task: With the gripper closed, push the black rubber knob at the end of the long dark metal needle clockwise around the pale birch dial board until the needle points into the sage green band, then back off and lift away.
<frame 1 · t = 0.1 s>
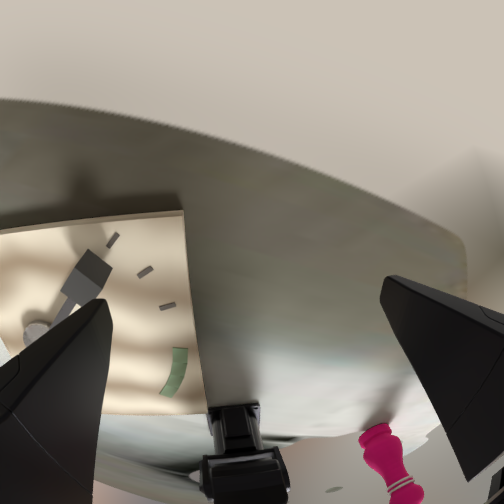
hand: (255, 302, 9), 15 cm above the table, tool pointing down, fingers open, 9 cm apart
pepper mill: (372, 432, 44), on the table
dial needle: (57, 324, 20), point 4 cm above the table, hinge at 0.0°
dial board: (52, 330, 24), on the table
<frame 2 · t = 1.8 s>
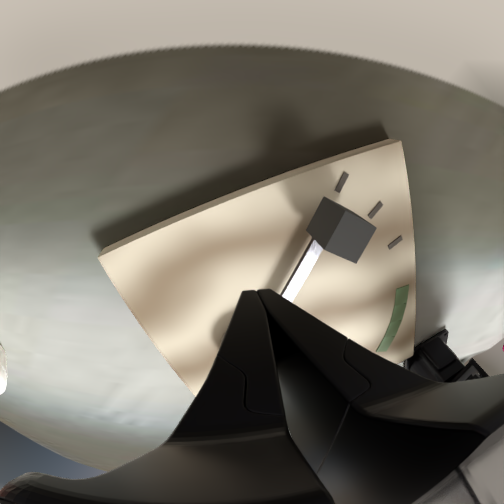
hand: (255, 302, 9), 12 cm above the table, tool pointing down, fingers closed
dial needle: (289, 308, 19), point 4 cm above the table, hinge at 0.0°
dial board: (249, 329, 24), on the table
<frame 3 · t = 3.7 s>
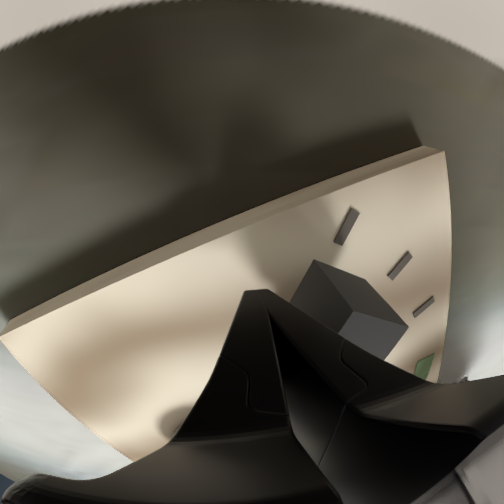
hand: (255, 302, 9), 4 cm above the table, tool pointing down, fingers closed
dial needle: (257, 421, 11), point 4 cm above the table, hinge at -0.2°, touching gripper
dial board: (212, 416, 16), on the table
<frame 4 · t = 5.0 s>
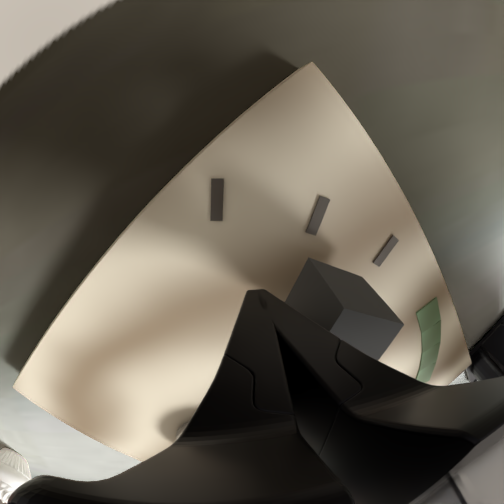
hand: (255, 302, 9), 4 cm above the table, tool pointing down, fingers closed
dial needle: (257, 420, 12), point 4 cm above the table, hinge at -19.7°, touching gripper
dial board: (216, 415, 16), on the table
white rounded lump: (15, 453, 18), on the table
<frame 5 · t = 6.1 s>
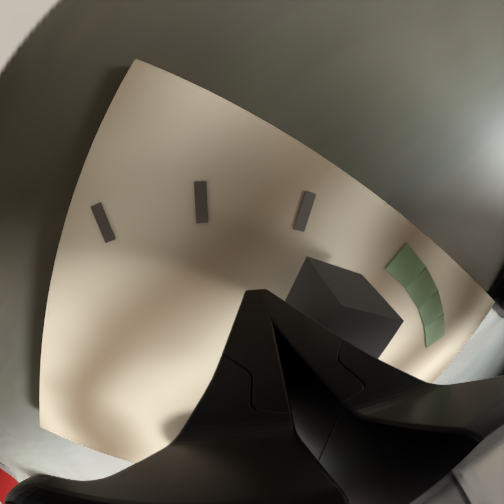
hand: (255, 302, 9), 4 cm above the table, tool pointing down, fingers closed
dial needle: (261, 420, 12), point 4 cm above the table, hinge at -36.5°, touching gripper
dial board: (222, 416, 16), on the table
beverage can: (1, 465, 20), on the table
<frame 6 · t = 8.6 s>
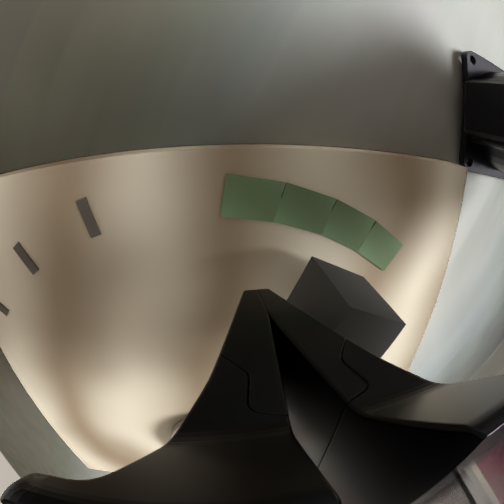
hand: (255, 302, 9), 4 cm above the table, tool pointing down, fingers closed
dial needle: (255, 418, 12), point 4 cm above the table, hinge at -69.6°, touching gripper
dial board: (211, 412, 16), on the table
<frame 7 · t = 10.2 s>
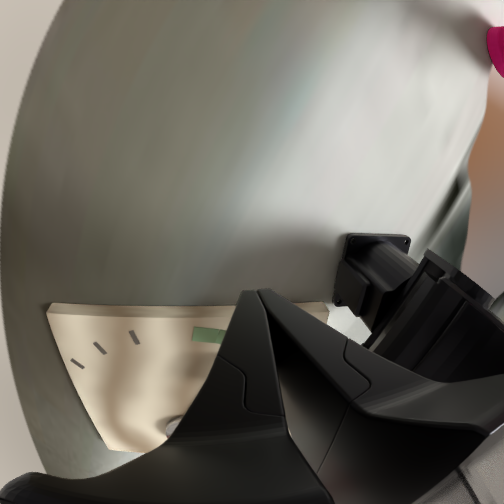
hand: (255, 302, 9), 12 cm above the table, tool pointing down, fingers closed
pepper mill: (499, 53, 17), on the table
dial needle: (208, 420, 24), point 4 cm above the table, hinge at -69.6°
dial board: (188, 415, 29), on the table
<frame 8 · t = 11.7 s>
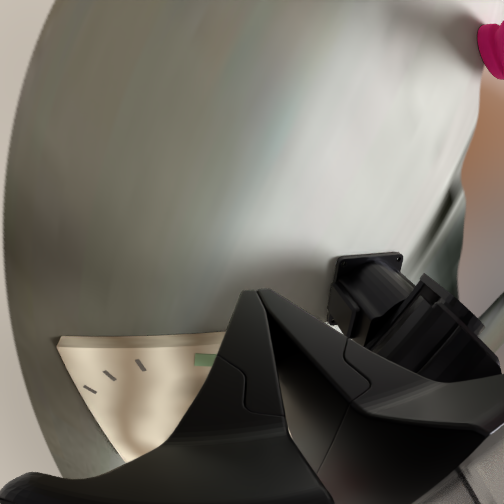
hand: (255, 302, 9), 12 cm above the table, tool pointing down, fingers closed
pepper mill: (491, 51, 17), on the table
dial board: (198, 428, 30), on the table
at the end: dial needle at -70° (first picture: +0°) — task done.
